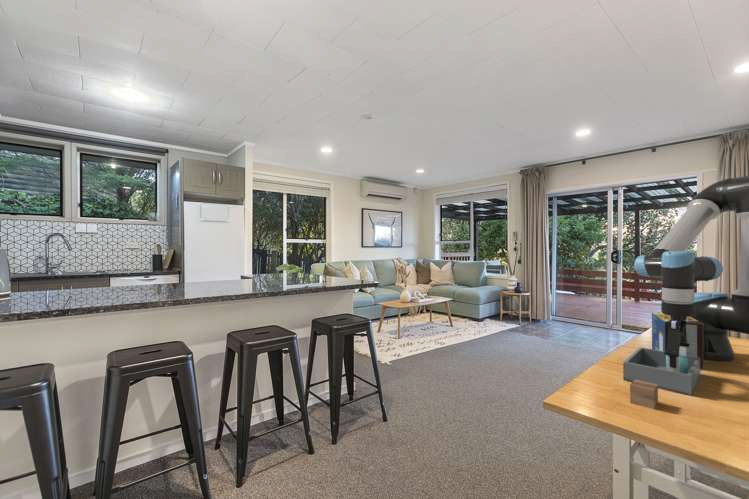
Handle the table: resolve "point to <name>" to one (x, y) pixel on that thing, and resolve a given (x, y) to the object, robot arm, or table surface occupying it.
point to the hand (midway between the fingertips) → (677, 372)
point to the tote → (660, 371)
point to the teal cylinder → (682, 364)
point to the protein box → (692, 330)
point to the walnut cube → (644, 394)
